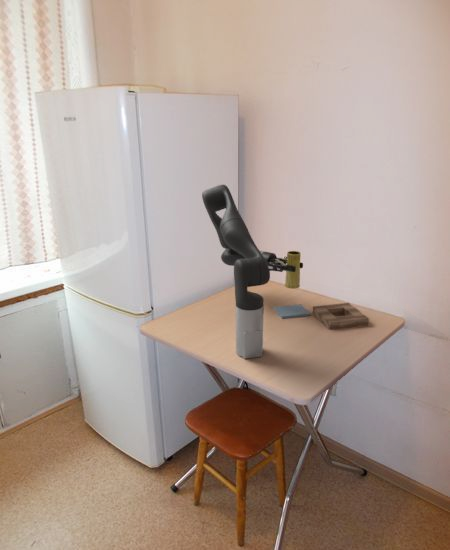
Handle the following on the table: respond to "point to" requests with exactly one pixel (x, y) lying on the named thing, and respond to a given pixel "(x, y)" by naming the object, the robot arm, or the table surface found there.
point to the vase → (293, 277)
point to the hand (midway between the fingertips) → (298, 267)
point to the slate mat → (291, 311)
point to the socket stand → (349, 320)
